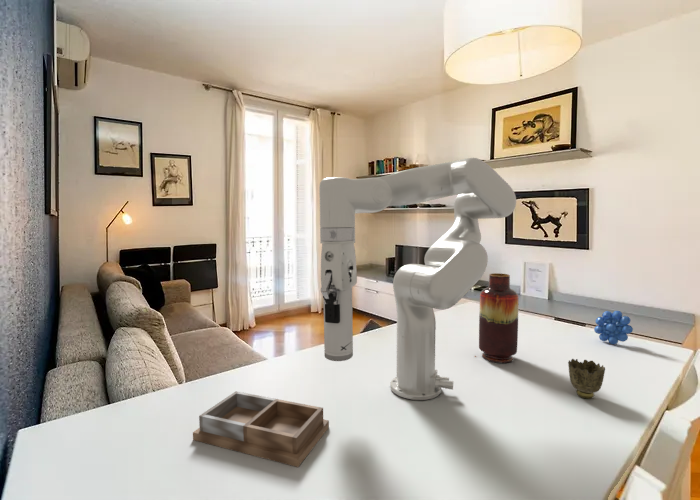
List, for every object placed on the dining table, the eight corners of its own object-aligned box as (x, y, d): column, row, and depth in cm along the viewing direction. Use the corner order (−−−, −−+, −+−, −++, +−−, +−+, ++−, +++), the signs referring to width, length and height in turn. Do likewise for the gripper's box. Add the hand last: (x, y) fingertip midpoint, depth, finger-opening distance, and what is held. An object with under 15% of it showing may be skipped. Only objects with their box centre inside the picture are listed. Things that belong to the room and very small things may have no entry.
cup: (598, 392, 90) (599, 360, 89) (608, 406, 83) (610, 371, 82) (563, 387, 92) (565, 356, 91) (571, 401, 85) (572, 367, 85)
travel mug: (351, 362, 76) (350, 268, 75) (321, 360, 78) (319, 267, 76) (356, 352, 82) (355, 264, 81) (328, 350, 84) (327, 264, 82)
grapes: (638, 347, 122) (640, 311, 121) (627, 350, 119) (629, 314, 118) (600, 337, 132) (602, 305, 131) (590, 340, 129) (591, 307, 128)
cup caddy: (328, 427, 74) (328, 406, 74) (298, 467, 62) (297, 442, 62) (236, 408, 82) (235, 388, 82) (193, 439, 70) (192, 417, 70)
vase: (499, 367, 105) (501, 278, 103) (470, 355, 115) (472, 273, 113) (525, 360, 110) (527, 275, 109) (495, 349, 120) (497, 271, 118)
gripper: (338, 238, 69) (339, 331, 70) (366, 234, 85) (367, 310, 86) (303, 238, 71) (305, 327, 73) (337, 234, 87) (338, 308, 89)
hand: (338, 317), depth 79 cm, fingers closed on travel mug, 6 cm apart
